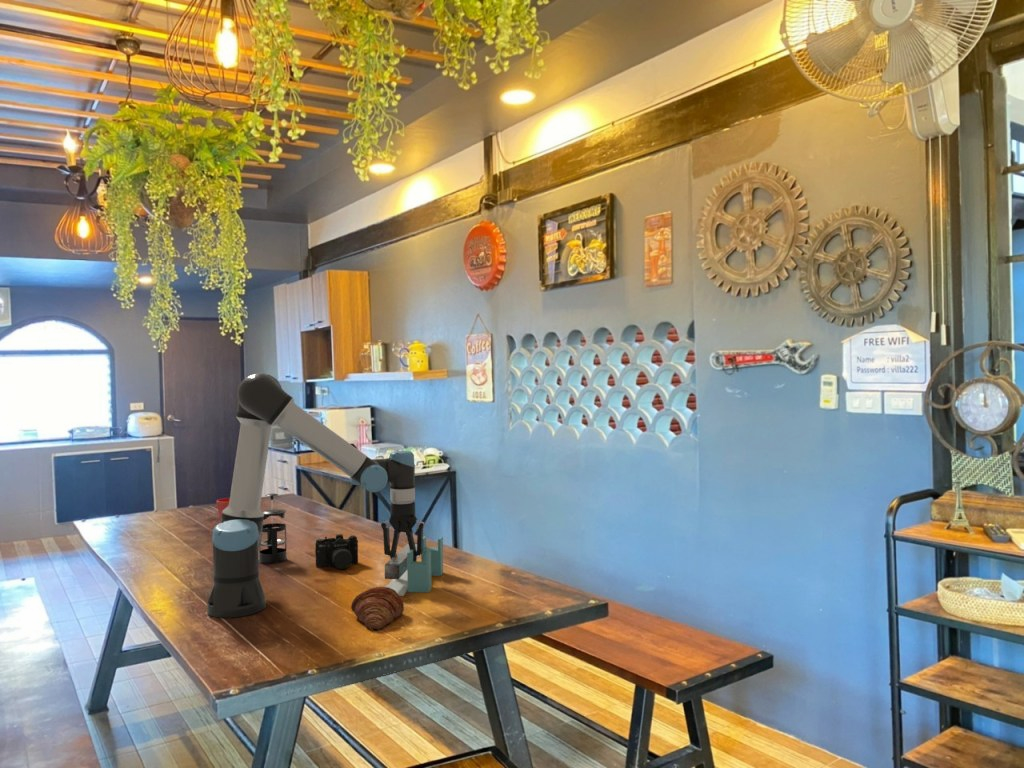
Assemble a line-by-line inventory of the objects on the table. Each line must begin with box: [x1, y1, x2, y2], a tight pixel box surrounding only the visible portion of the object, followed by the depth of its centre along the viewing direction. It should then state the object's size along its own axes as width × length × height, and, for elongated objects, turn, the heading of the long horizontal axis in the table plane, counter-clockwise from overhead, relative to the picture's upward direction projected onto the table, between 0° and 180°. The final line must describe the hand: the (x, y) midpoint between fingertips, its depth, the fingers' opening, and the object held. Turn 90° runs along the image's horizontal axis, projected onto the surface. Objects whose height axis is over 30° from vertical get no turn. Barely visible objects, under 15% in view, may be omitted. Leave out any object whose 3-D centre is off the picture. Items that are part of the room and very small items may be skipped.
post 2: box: [420, 535, 444, 577], centre depth 239 cm, size 4×6×12 cm, turn 84°
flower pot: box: [216, 497, 230, 522], centre depth 329 cm, size 11×11×10 cm
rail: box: [384, 542, 421, 580], centre depth 231 cm, size 28×4×4 cm, turn 174°
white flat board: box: [385, 570, 408, 597], centre depth 231 cm, size 30×7×1 cm, turn 174°
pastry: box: [350, 586, 405, 631], centre depth 197 cm, size 17×15×8 cm
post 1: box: [407, 550, 432, 593], centre depth 221 cm, size 4×6×12 cm, turn 84°
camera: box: [314, 533, 359, 570], centre depth 249 cm, size 14×11×10 cm
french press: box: [258, 493, 288, 565], centre depth 259 cm, size 12×9×23 cm
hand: (403, 577), depth 231 cm, fingers closed on rail, 4 cm apart
